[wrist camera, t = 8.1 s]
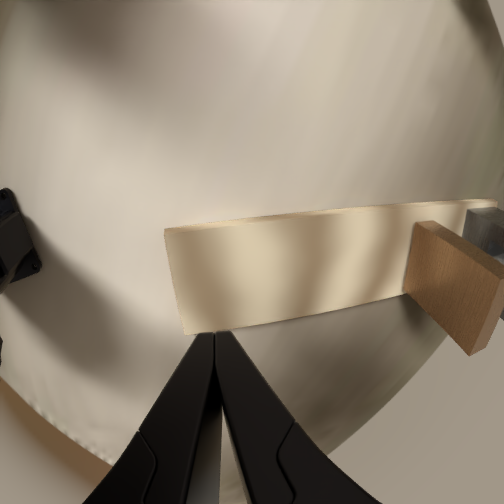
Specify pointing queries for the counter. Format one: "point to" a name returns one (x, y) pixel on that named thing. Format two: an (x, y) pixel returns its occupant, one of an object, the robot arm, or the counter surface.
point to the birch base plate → (297, 261)
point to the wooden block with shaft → (456, 284)
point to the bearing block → (485, 231)
